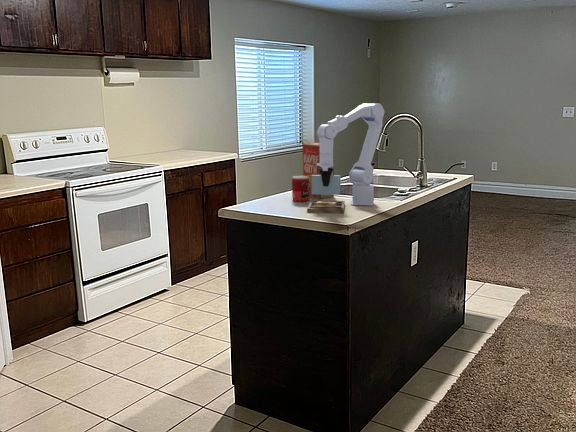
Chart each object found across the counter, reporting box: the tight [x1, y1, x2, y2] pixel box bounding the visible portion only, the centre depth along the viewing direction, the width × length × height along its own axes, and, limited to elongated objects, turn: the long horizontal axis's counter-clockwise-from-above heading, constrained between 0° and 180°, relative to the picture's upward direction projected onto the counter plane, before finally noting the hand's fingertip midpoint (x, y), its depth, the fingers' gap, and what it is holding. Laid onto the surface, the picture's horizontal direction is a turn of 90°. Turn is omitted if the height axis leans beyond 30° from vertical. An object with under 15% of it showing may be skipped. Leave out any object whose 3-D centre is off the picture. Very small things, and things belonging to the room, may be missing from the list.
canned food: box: [291, 175, 310, 203], centre depth 261 cm, size 8×8×11 cm
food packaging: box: [302, 142, 335, 200], centre depth 270 cm, size 13×9×25 cm
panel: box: [312, 174, 342, 196], centre depth 241 cm, size 12×2×8 cm, turn 83°
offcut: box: [316, 200, 336, 206], centre depth 243 cm, size 8×3×3 cm, turn 73°
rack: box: [306, 200, 345, 214], centre depth 244 cm, size 15×18×2 cm
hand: (326, 185), depth 241 cm, fingers closed on panel, 2 cm apart
